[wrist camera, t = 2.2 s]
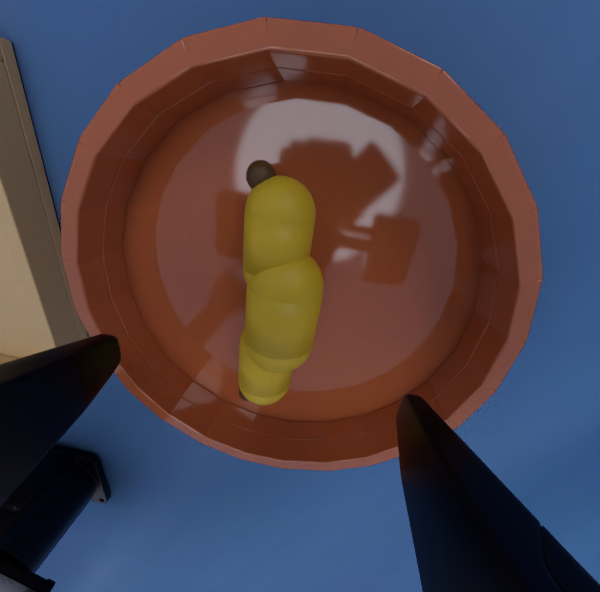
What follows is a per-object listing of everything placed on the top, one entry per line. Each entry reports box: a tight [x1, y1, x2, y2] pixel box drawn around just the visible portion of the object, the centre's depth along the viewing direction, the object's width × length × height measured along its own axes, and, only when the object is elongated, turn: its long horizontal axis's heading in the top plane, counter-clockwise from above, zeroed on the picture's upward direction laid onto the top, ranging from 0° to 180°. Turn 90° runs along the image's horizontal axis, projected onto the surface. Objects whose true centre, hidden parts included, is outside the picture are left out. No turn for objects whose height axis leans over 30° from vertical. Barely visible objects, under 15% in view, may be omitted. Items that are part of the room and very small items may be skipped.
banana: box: [238, 160, 324, 405], centre depth 12 cm, size 12×4×3 cm, turn 173°
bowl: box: [61, 17, 543, 471], centre depth 12 cm, size 18×18×3 cm
